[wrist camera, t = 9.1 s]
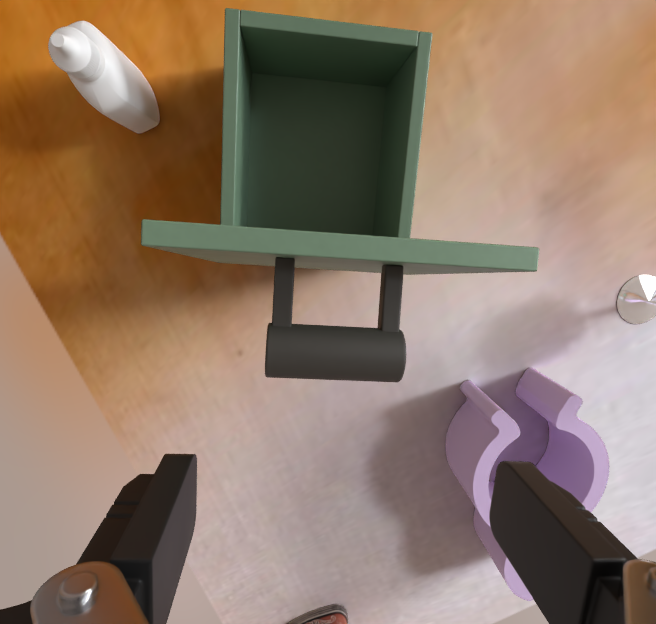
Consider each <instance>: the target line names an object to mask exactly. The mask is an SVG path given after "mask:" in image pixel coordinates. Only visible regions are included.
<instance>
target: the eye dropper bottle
mask: <svg viewBox="0 0 656 624" xmlns="http://www.w3.org/2000/svg"><path fill="white" fill-rule="evenodd" d="M48 46H49V47H48V48H49V53H50V55H51V58H52V60H53V62H55V64H56V65H57V66H58V67H59V68H60V69H62V70H64V71H65V72H67V74H68V76H69V78H70V79H71V81H72V83H73V84H74V86H75V87H76V88H77V90H78V91H79V92H80V94H81V95H82V96H83V97H84V98H85V99H86V100H87V101H88V102H89V103H90V104H91V105H92V106H93V107H94V108H95V109H96V110H98V111H99V112H100V113H102V114H103V115H105V116H106V117H108V118H110V119H112V120H113V121H115V122H117V123H119V124H121V125H122V126H124V127H126V128H128V129H130V130H132V131H134V132H136V133H143V132H145V131H148V130H150V129H152V128H154V127H156V126H157V125H158V124H159V121H160V115H159V109H158V104H157V101H156V98H155V95H154V92H153V90H152V88H151V86H150V84H149V83H148V81H147V79H146V78H145V77H144V75H143V74H142V73H141V71H140V70H139V69H138V68H137V67H136V66H135V65H134V64H133V63H132V62H131V61H130V60H129V59H128V58H127V57H126V56H125V55H124V54H123V53H122V52H121V51H120V50H119V49H118V48H117V47H116V46H115V45H114V44H113V43H112V42H111V41H110V40H109V39H108V38H107V37H106V36H105V35H103V34H102V33H101V32H100V31H99V30H98V29H97V28H96V27H94V26H93V25H92V24H90V23H89V22H86V21H78V22H75V23H73V24H71V25H69V26H67V27H62V28H59V29H57V30H56V31H54V33H53V34H52V36H51V38H50V40H49V45H48Z"/></svg>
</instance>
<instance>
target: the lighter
mask: <svg viewBox="0 0 656 624" xmlns="http://www.w3.org/2000/svg"><path fill="white" fill-rule="evenodd" d="M288 624H348V616H347V611H346V609H345V608H344V607H343V606H342V605H339V604H333V605H329V606H326V607H322V608H319V609H316V610H313V611H311V612H308V613H306V614H304V615H302V616H300V617H298V618H296V619H294V620H293V621H291V622H289V623H288Z"/></svg>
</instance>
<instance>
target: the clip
mask: <svg viewBox="0 0 656 624" xmlns="http://www.w3.org/2000/svg"><path fill="white" fill-rule="evenodd" d="M460 390H461V391H462V392H463V393H464V394H465V395H466V396H467V401H466V402H465V403H464V404H463V405H462V406H461V407H460V409H459V410H458V411H457V413H456V414H455V416H454V417H453V419H452V421H451V423H450V425H449V428H448V431H447V435H446V443H445V450H446V457H447V461H448V463H449V466H450V468H451V470H452V472H453V473H454V475H455V476H456V478H457V479H458V481H459V482H460V484H461V486H462V487H463V489H464V490H465V492H466V493H467V495H468V496H469V498H470V500H471V501H472V503H473V504H474V506H475V507H476V508H475V511H474V517H473V522H474V528H475V530H476V533H477V534H478V536H479V538H480V539H481V541H482V543H483V545H484V546H485V548H486V550H487V551H488V553H489V555H490V556H491V558H492V560H493V561H494V563H495V565H496V566H497V568H498V570H499V571H500V573H501V575H502V577H503V578H504V580H505V582H506V583H507V585H508V587H509V588H510V589H511V591H512V592H513V593H514V594H516V595H517V596H518V597H520V598H522V599H524V600H527V601H531V600H533V597H532V596H531V594H530V593H529V591H528V590H527V588H526V587H525V585H524V583H523V582H522V580H521V579H520V577H519V576H518V574H517V572H516V571H515V569H514V568H513V566H512V565H511V563H510V561H509V560H508V558H507V557H506V555H505V554H504V552H503V551H502V549H501V547H500V546H499V544H498V543H497V541H496V540H495V538H494V536H493V533H492V531H491V527H490V520H489V512H490V506H491V500H492V494H493V488H494V482H489V476H490V472H491V470H492V467H493V465H494V463H495V461H496V459H497V458H498V456H499V455H500V453H501V452H502V451H503V450H504V449H505V448H506V447H507V446H508V445H509V444H510V443H511V442H513V441H514V440H516V439H517V438H518V437H519V436H520V429H519V427H518V425H517V423H516V422H515V421H514V420H513V419H512V418H511V417H510V416H509V415H508V414H507V413H506V412H505V411H504V410H502V409H501V408H500V407H499V406H498V405H497V404H496V403H495V402H494V401H492V400H491V399H490V398H489V397H488V396H487V395H486V394H485V393H484V392H483V391H481V390H480V389H479V388H478V387H477V386H476V385H475V384H474V383H473V382H471V381H470V380H466V381H464V382H463V383H462V384H461V386H460ZM516 396H517V397H519V398H520V399H521V400H522V401H524V402H525V403H526V404H528V405H529V406H530V407H531V408H533V409H534V410H535V411H536V412H538V413H539V414H540V415H541V416H543V417H544V418H545V419H547V422H548V426H549V441H548V445H547V448H546V451H545V453H544V455H543V457H542V458H541V460H540V461H539V462H538V464H537V465H536V467H537V469H538V470H539V471H540V472H541V473H542V474H543V475H544V476H545V477H546V478H547V479H548V480H549V481H552V482H554V483H555V484H557V485H559V486H560V487H562V488H563V489H565V490H567V491H568V492H570V493H571V494H572V495H573V496H574V497H575V498H576V499H577V500H578V501H579V502H580V503H581V504H583V505H584V506H585V509H586V510H589V511H590V512H592V511H593V509H594V508H595V507H596V505H597V504H598V502H599V501H600V499H601V497H602V495H603V493H604V490H605V488H606V485H607V481H608V476H609V458H608V453H607V450H606V447H605V445H604V442H603V441H602V439H601V437H600V436H599V435H598V433H597V432H596V431H595V430H594V429H593V428H592V427H591V426H589V425H588V424H587V423H585V422H584V421H582V420H581V419H579V418H578V417H577V416H576V414H577V411H578V410H579V408H580V407H581V405H582V399H581V398H580V397H579V396H577V395H576V394H574V393H572V392H571V391H569V390H567V389H566V388H564V387H563V386H561V385H559V384H558V383H556V382H555V381H553V380H551V379H550V378H548V377H547V376H545V375H543V374H542V373H540V372H539V371H537V370H535V369H533V368H528V369H527V370H526V371H525V372H524V374H523V376H522V377H521V379H520V380H519V382H518V384H517V388H516Z"/></svg>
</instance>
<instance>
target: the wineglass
mask: <svg viewBox="0 0 656 624" xmlns="http://www.w3.org/2000/svg"><path fill="white" fill-rule="evenodd" d="M617 308H618V312H619V314H620V316H621V317H622V318H623V319H624V320H625V321H626V322H629V323H632V324H642V323H645V322H648V321H649V320H651V319H652V318H654V317H655V316H656V277H653V276H651V275H640V276H636V277H634V278H632V279H631V280H629V281H628V282H627V283H626V284H625V285H624V286H623V287H622V289H621V291H620V293H619V295H618V300H617Z"/></svg>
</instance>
